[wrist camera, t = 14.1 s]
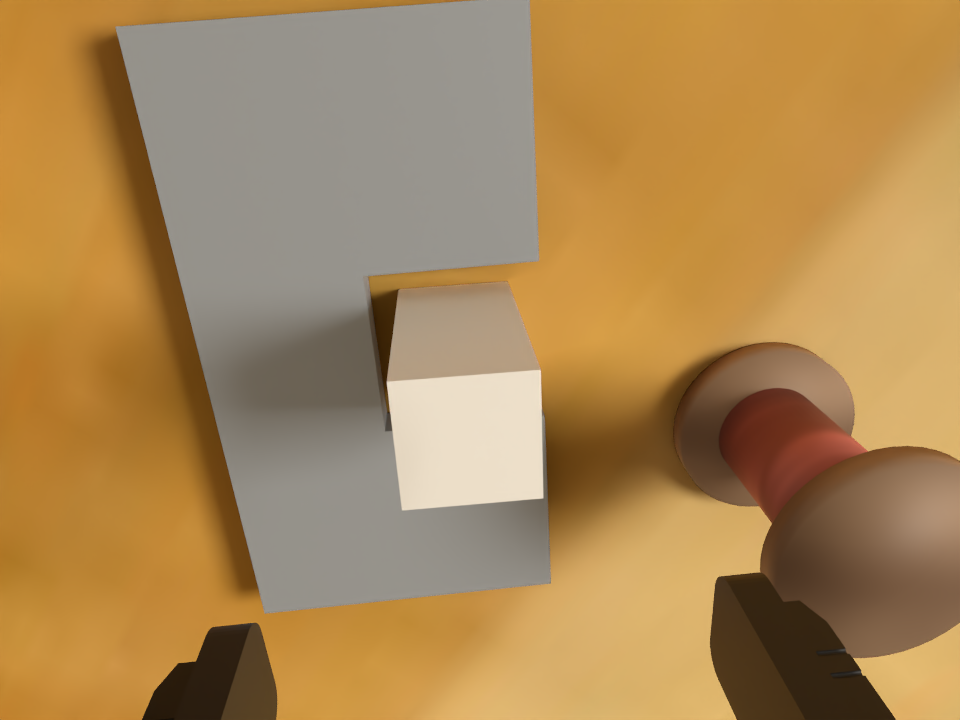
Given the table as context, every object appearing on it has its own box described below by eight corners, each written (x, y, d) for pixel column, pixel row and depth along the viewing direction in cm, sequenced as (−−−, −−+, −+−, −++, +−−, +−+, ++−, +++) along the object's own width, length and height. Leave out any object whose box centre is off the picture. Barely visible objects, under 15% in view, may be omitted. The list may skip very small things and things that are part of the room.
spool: (677, 351, 27) (789, 478, 18) (852, 334, 27) (1040, 453, 19) (669, 500, 29) (764, 669, 21) (828, 484, 30) (982, 645, 21)
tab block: (398, 288, 25) (386, 381, 18) (507, 281, 25) (540, 369, 18) (408, 387, 26) (401, 510, 19) (511, 379, 27) (543, 498, 19)
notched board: (135, 29, 21) (115, 26, 20) (522, 1, 21) (529, -4, 20) (272, 588, 30) (264, 613, 28) (545, 559, 30) (551, 583, 29)
